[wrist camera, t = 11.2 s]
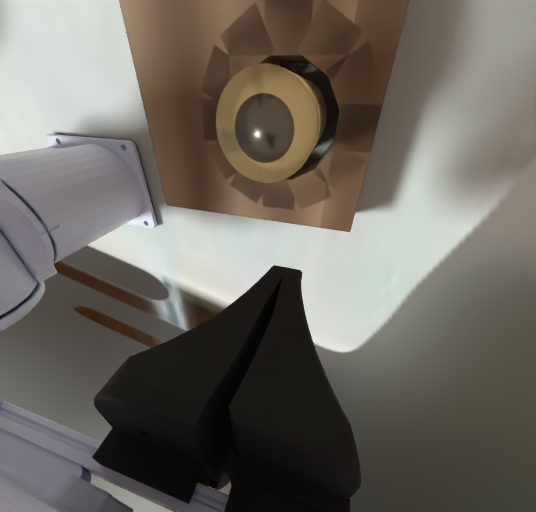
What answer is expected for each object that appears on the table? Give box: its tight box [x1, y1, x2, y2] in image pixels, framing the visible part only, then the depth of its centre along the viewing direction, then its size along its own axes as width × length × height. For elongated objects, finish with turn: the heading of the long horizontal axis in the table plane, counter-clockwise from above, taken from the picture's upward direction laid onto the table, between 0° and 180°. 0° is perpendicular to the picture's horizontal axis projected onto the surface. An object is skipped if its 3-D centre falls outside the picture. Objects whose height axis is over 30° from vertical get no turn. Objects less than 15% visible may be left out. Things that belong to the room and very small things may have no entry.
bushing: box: [216, 64, 327, 183], centre depth 13 cm, size 4×4×7 cm
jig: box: [119, 0, 409, 232], centre depth 15 cm, size 14×12×3 cm
